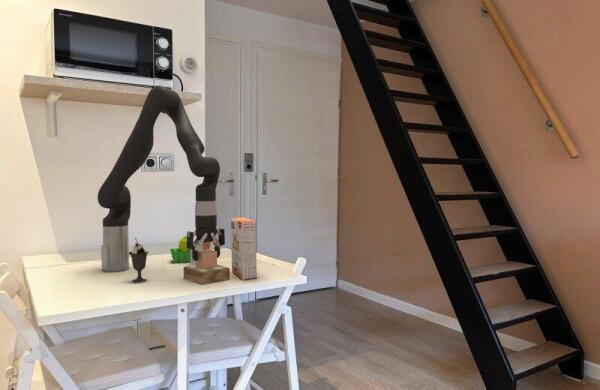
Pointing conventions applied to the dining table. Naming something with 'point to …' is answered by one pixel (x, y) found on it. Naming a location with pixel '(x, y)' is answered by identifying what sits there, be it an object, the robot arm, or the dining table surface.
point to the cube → (207, 259)
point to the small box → (202, 247)
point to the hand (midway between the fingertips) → (206, 259)
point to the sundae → (138, 261)
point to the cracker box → (243, 248)
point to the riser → (206, 274)
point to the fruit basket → (181, 252)
